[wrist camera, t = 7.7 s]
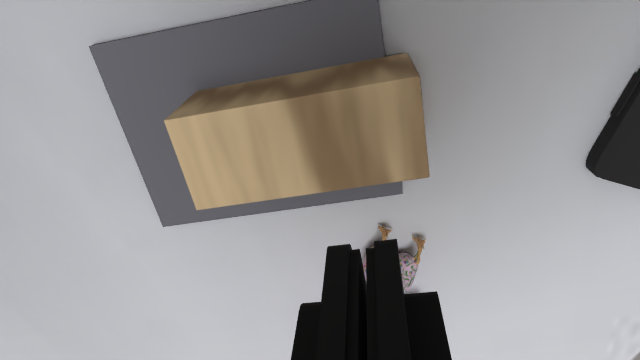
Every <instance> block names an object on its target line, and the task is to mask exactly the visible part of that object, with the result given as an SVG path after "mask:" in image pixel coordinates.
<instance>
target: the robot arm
mask: <svg viewBox="0 0 640 360" xmlns="http://www.w3.org/2000/svg"><path fill="white" fill-rule="evenodd" d="M291 360H452V359H451V354H450V349H449V345H448V340H447V335H446V331H445V326H444V321H443V316H442V312H441V307H440V302H439V298H438V294H437V292H426V293H415V294H404V288H403V280H402V273H401V266H400V259H399V252H398V245H397V239H392V240H383V241H374V248H366V279H365V274H364V269H363V264H362V258H361V253H360V250H359V249H356V250H352V248H351V245H350V244H346V245H337V246H328V248H327V255H326V264H325V273H324V282H323V291H322V300H321V302H314V303H303V304H301V306H300V309H299V314H298V320H297V326H296V332H295V338H294V344H293V350H292V356H291Z"/></svg>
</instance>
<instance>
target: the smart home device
mask: <svg viewBox="0 0 640 360" xmlns="http://www.w3.org/2000/svg"><path fill="white" fill-rule="evenodd" d="M611 114H612V115H611V117H610V118H609V120H608V122H607V123H606V125H605V127H604V128H603V130H602V132H601V133H600V135H599V137H598V138H597V140H596V142H595V143H594V145H593V147H592V148H591V150H590V152H589V154H588V157H587V160H586V167H587V168H588V169H589V170H590V171H591V172H592V173H593V174H594V175H595V176H597V177H599V178H602V179H605V180H609V181H612V182H616V183H619V184H623V185H627V186H630V187H634V188H637V189H640V68H639V70H638V72H637V73H635V74H634V76H633V77H632V79H631V81H630V82H629V84H628V86H627V87H626V89H625V91H624V92H623V94H622V96H621V97H620V99H619V101H618V103H617V104H616V106H615V108H614V109H613V111H612V113H611Z"/></svg>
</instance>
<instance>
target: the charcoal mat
mask: <svg viewBox="0 0 640 360" xmlns="http://www.w3.org/2000/svg"><path fill="white" fill-rule="evenodd" d="M89 48H90V51H91V53H92V55H93V58H94V60H95V63H96V65H97V68H98V70H99V72H100V75H101V77H102V80H103V82H104V85H105V87H106V89H107V92H108V94H109V97H110V99H111V102H112V104H113V106H114V109H115V111H116V114H117V116H118V119H119V121H120V124H121V126H122V128H123V131H124V133H125V136H126V138H127V141H128V143H129V145H130V148H131V150H132V153H133V155H134V158H135V160H136V162H137V165H138V167H139V170H140V172H141V175H142V177H143V179H144V182H145V184H146V187H147V189H148V192H149V194H150V196H151V199H152V201H153V204H154V206H155V209H156V211H157V213H158V216H159V218H160V221H161V223H162V226H163V227H166V226H173V225H180V224H187V223H194V222H202V221H209V220H216V219H223V218H231V217H238V216H245V215H252V214H259V213H267V212H274V211H281V210H288V209H296V208H303V207H310V206H317V205H324V204H332V203H339V202H346V201H353V200H361V199H368V198H375V197H382V196H389V195H397V194H403V191H402V184H401V181H399V182H392V183H385V184H378V185H371V186H364V187H357V188H350V189H343V190H336V191H329V192H322V193H315V194H308V195H301V196H294V197H287V198H280V199H273V200H266V201H258V202H251V203H244V204H237V205H230V206H223V207H216V208H209V209H202V210H196V207H195V204H194V202H193V199H192V196H191V194H190V191H189V188H188V185H187V183H186V180H185V177H184V174H183V172H182V169H181V166H180V163H179V161H178V158H177V155H176V153H175V150H174V147H173V144H172V142H171V139H170V136H169V133H168V131H167V128H166V125H165V122H164V120H165V119H166V118H167V117H168V116H169V115H171V114H172V113H173V112H174V111H175V110H176V109H177V108H178V107H179V106H181V105H182V104H183V103H184V102H185V101H186V100H187V99H188V98H189V97H190V96H192V95H193V94H194V93H195V92H196V91H200V90H206V89H211V88H217V87H222V86H228V85H233V84H239V83H244V82H250V81H255V80H261V79H266V78H272V77H277V76H283V75H288V74H294V73H299V72H305V71H310V70H316V69H321V68H326V67H332V66H337V65H343V64H348V63H354V62H359V61H365V60H370V59H376V58H381V57H385V53H384V45H383V38H382V30H381V22H380V15H379V7H378V0H308V1H304V2H299V3H294V4H289V5H284V6H279V7H274V8H269V9H265V10H260V11H255V12H250V13H245V14H240V15H235V16H231V17H226V18H221V19H216V20H211V21H206V22H201V23H196V24H192V25H187V26H182V27H177V28H172V29H167V30H162V31H158V32H153V33H148V34H143V35H138V36H133V37H128V38H124V39H119V40H114V41H109V42H104V43H99V44H94V45H92V46H89Z"/></svg>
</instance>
